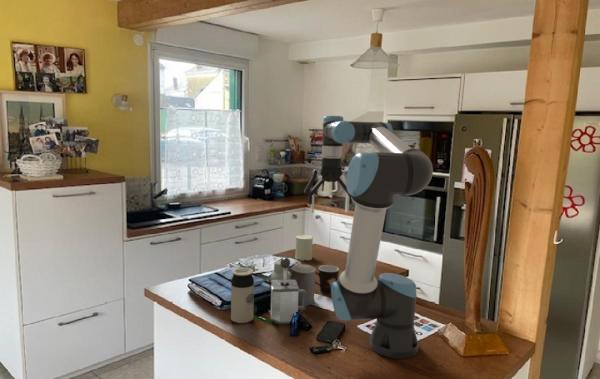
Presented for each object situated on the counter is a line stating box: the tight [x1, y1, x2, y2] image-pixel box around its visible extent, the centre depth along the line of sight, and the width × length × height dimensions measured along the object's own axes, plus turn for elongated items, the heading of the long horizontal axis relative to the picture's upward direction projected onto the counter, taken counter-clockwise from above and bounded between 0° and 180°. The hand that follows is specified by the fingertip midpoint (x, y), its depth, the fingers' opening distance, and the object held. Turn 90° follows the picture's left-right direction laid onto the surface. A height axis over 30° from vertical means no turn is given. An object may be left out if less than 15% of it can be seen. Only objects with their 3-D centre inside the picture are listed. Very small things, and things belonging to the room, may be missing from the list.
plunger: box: [280, 257, 291, 286], centre depth 153 cm, size 7×7×18 cm
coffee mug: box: [315, 264, 340, 295], centre depth 182 cm, size 12×9×10 cm
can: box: [294, 234, 314, 262], centre depth 227 cm, size 9×9×12 cm
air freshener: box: [270, 260, 291, 281], centre depth 188 cm, size 11×8×10 cm
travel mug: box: [230, 267, 255, 324], centre depth 153 cm, size 8×8×18 cm
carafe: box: [269, 279, 306, 326], centre depth 155 cm, size 10×13×13 cm
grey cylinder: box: [290, 264, 316, 307], centre depth 170 cm, size 10×10×15 cm
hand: (329, 212), depth 164 cm, fingers open, 13 cm apart
